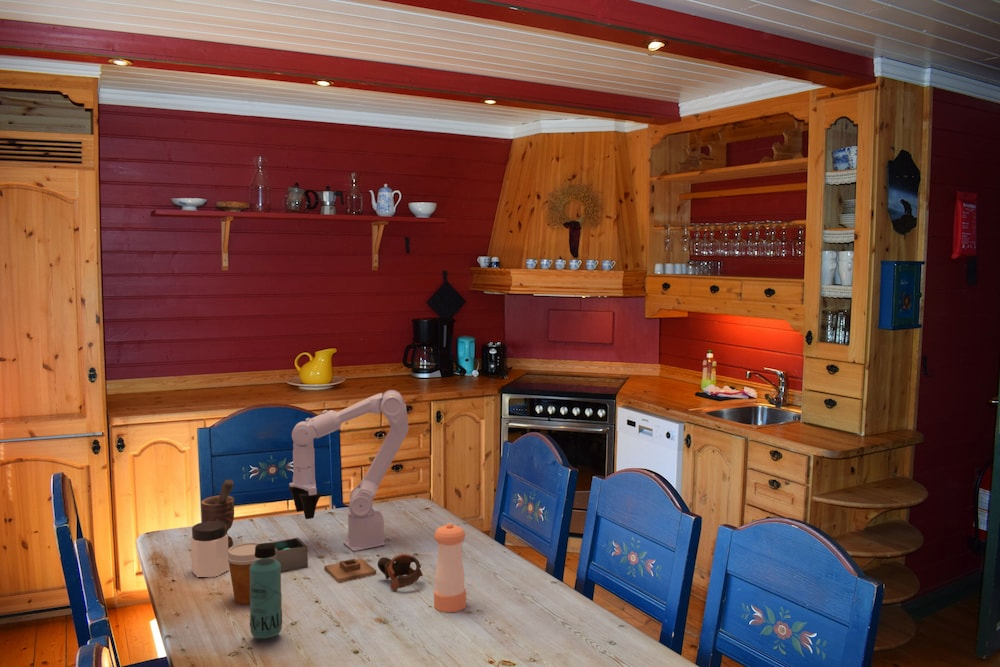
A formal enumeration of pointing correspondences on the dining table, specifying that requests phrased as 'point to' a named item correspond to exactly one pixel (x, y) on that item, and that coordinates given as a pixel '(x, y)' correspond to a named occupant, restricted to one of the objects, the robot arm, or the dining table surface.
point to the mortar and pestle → (220, 508)
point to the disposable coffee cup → (241, 570)
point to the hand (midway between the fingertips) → (304, 514)
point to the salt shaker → (449, 569)
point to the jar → (209, 549)
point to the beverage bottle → (265, 593)
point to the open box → (291, 554)
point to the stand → (349, 570)
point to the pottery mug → (400, 570)
